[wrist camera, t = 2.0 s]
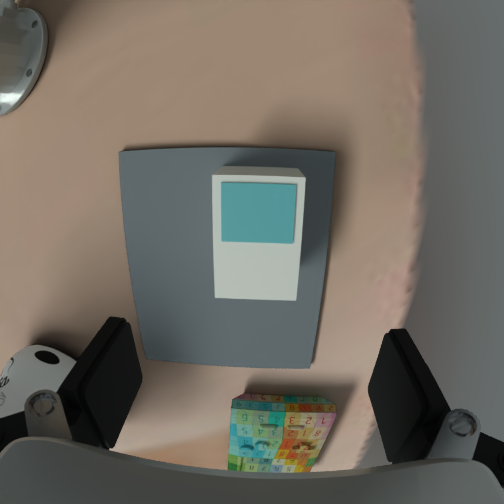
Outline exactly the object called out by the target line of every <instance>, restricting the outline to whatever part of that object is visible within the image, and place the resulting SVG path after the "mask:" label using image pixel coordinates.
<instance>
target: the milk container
mask: <svg viewBox="0 0 504 504" xmlns="http://www.w3.org/2000/svg"><path fill="white" fill-rule="evenodd" d="M77 361H78V360H76V359H75V358H74V357H72V356H70V355H68V354H66V353H64V352H62V351H60V350H58V349H56V348H53V347H49V346H45V345H40V344H39V345H31V346H27V347H25V348H23V349H22V350H20V351H19V352H17V353H16V354H15V355H14V356H13V357H12V358H11V359H10V360H9V361H8V362H7V364H6V365H5V367H4V369H3V371H2V374H1V377H0V418H2V417H6V416H9V415H12V414H15V413H18V412H21V411H24V404H25V402H26V399H27V398H28V397H29V396H30V395H31V394H33V393H34V392H36V391H39V390H44V389H46V390H52V391H54V392H57V390H58V389H59V387H60V385H61V384H62V382H63V381H64V379H65V378H66V376H67V375H68V374H69V372H70V371H71V369H72V368H73V366H74V365H75V363H76V362H77Z"/></svg>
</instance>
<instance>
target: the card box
mask: <svg viewBox="0 0 504 504" xmlns="http://www.w3.org/2000/svg"><path fill="white" fill-rule="evenodd" d="M305 181H306V177H305V176H304V175H303V174H302V173H301V171H300V170H299V169H298V168H284V167H255V166H222V167H220V168H219V169H218V170H217V171H216V172H215V173H214V174H212V215H213V258H214V288H215V298H230V299H256V300H290V301H296V297H297V287H298V276H299V264H300V253H301V240H302V227H303V213H304V197H305Z"/></svg>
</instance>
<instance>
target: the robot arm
mask: <svg viewBox="0 0 504 504" xmlns="http://www.w3.org/2000/svg"><path fill="white" fill-rule="evenodd" d="M0 1H1V3H0V116H4V115H6V114H8V113H10V112H12V111H13V110H14V109H16V108H17V107H18V106H19V105H20V104H21V103H22V102H23V101H24V99H25V98H26V97H27V95H28V94H29V93H30V91H31V90H32V88H33V86H34V84H35V82H36V80H37V79H38V76H39V74H40V71H41V69H42V66H43V63H44V59H45V56H46V50H47V45H48V32H47V25H46V23H45V20H44V18H43V17H42V15H41V14H40V13H38V12H37V11H35V10H32V9H30V8H18V9H16V8H17V3H15V0H0ZM141 383H142V372H141V368H140V364H139V360H138V356H137V352H136V348H135V343H134V339H133V334H132V330H131V325H130V323H128V322H126V320H125V319H124V318H119V317H109V318H108V319H107V321H106V322H105V323H104V325H103V326H102V327H101V329H100V330H99V331H98V333H97V334H96V336H95V337H94V338H93V340H92V341H91V342H90V344H89V345H88V347H87V348H86V349H85V351H84V352H83V354H82V355H81V356H80V358H79V359H78V361H77V362H76V363H75V365H74V366H73V368H72V369H71V371H70V372H69V374H68V375H67V376H66V378H65V379H64V381H63V382H62V384H61V385H60V387H59V389H58V390H57V392H54V391H52V390H46V389H44V390H39V391H36V392H34V393H33V394H31V395H30V396H29V397H28V398H27V399H26V402H25V404H24V411H21V412H18V413H15V414H12V415H9V416H6V417H2V418H0V504H504V442H502V441H500V440H497V439H495V438H493V437H490V436H488V435H486V434H484V433H482V432H480V429H481V425H480V421H479V419H478V418H477V416H476V415H474V414H473V413H472V412H470V411H468V410H465V409H454V410H451V409H450V407H449V406H448V403H447V402H446V400H445V398H444V396H443V394H442V392H441V390H440V388H439V386H438V384H437V382H436V380H435V379H434V377H433V375H432V373H431V371H430V369H429V367H428V366H427V364H426V363H425V361H424V360H423V358H422V356H421V354H420V352H419V351H418V349H417V347H416V345H415V344H414V342H413V340H412V338H411V337H410V335H409V333H408V332H407V330H406V329H391V330H390V331H389V333H386V334H385V335H384V338H383V341H382V345H381V348H380V351H379V354H378V358H377V361H376V364H375V367H374V370H373V373H372V376H371V379H370V382H369V385H368V394H369V397H370V401H371V404H372V407H373V410H374V414H375V417H376V421H377V424H378V428H379V431H380V435H381V438H382V442H383V445H384V449H385V453H386V456H387V460H388V461H389V462H392V464H391V465H384V466H376V467H369V468H359V469H349V470H338V471H323V472H296V473H272V472H245V471H230V470H219V469H209V468H200V467H192V466H185V465H178V464H172V463H166V462H161V461H155V460H150V459H145V458H140V457H136V456H131V455H127V454H122V453H118V452H114V451H110V450H109V449H110V448H113V447H114V446H115V444H116V441H117V439H118V437H119V434H120V432H121V429H122V427H123V425H124V422H125V420H126V418H127V415H128V413H129V411H130V408H131V406H132V404H133V402H134V399H135V397H136V395H137V392H138V390H139V388H140V386H141Z"/></svg>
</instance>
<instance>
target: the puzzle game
mask: <svg viewBox="0 0 504 504" xmlns="http://www.w3.org/2000/svg"><path fill="white" fill-rule="evenodd" d="M336 414H337V408H336V404H334V403H332V402H330V401H328V400H326V399H324V398H322V397H303V396H278V395H261V394H248V393H244V394H242V395H240V396H238V397H236V398H234V399H233V400H232V406H231V421H230V438H229V455H228V470H230V471H245V472H272V473H296V472H310V470H311V468H312V466H313V464H314V462H315V460H316V458H317V456H318V454H319V452H320V450H321V448H322V446H323V444H324V442H325V440H326V437H327V435H328V433H329V431H330V429H331V427H332V424H333V422H334V420H335V417H336Z"/></svg>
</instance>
